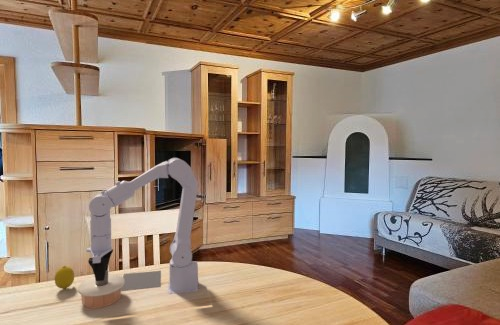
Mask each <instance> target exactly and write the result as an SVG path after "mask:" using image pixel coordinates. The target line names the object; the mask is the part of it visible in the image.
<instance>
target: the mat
mask: <svg viewBox="0 0 500 325" xmlns="http://www.w3.org/2000/svg"><path fill="white" fill-rule="evenodd" d="M122 277H123V278H124V280H125V283H124V286H123V287H122V288H121V292H124V291H133V290H134V291H135V290H143V289H152V288H153V289H154V288H161V282H162V280H161V278H162V271H161V270H154V271H142V272H132V273H131V272H130V273H123V276H122Z"/></svg>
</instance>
